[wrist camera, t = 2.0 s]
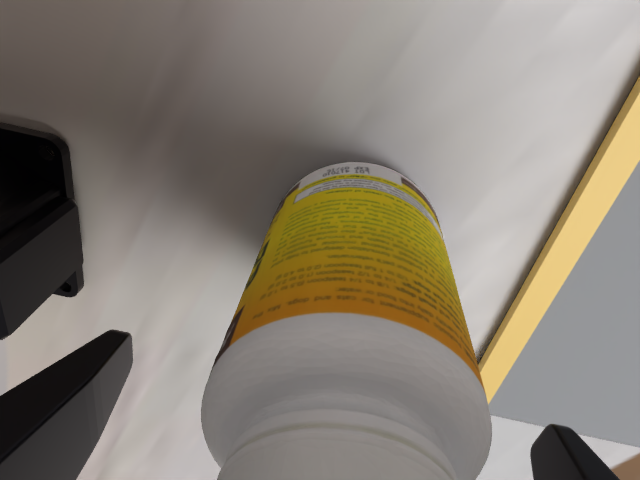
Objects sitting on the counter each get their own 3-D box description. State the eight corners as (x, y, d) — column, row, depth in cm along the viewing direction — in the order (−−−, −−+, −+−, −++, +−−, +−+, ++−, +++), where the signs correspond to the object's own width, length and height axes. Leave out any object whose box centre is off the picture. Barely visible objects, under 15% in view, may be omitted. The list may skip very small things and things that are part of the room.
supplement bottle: (264, 157, 14) (86, 458, 5) (443, 152, 13) (583, 485, 5) (284, 296, 17) (190, 642, 8) (432, 298, 16) (505, 676, 7)
